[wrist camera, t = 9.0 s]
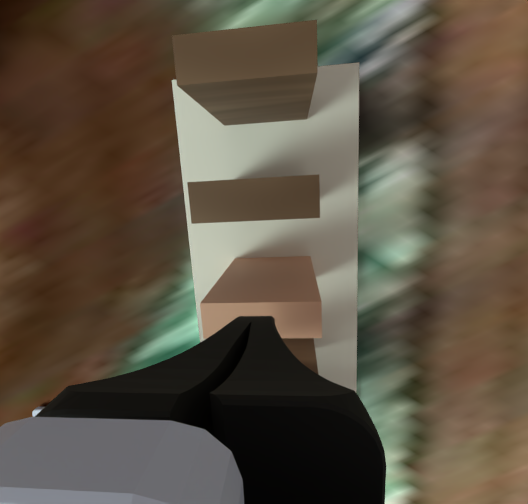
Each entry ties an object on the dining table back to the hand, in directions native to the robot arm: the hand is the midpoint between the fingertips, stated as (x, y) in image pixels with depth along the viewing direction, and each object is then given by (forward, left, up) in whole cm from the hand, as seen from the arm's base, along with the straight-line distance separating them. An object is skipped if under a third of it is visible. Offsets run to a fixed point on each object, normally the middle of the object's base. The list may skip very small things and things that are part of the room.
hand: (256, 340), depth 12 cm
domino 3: (0, 0, -9) cm, 9 cm away
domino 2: (+5, 0, -9) cm, 11 cm away
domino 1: (+10, 0, -9) cm, 14 cm away
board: (0, 0, -10) cm, 10 cm away
